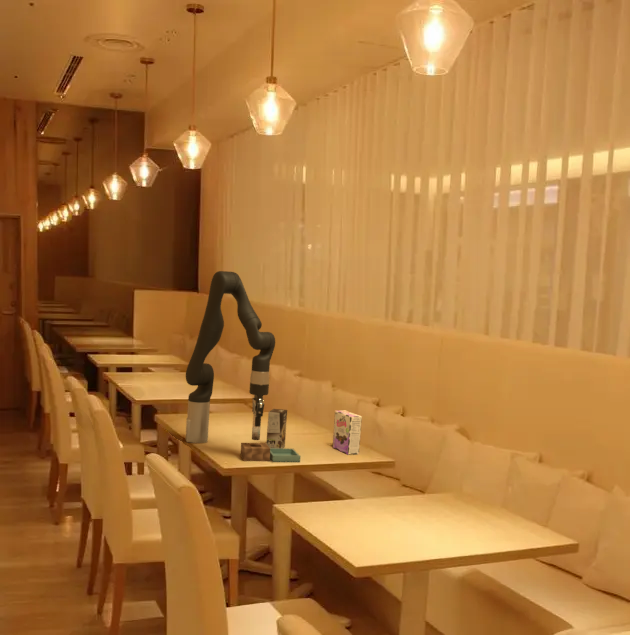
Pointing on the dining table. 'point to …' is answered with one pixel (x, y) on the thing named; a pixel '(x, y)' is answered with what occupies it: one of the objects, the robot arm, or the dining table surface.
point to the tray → (284, 455)
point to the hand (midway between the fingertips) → (256, 425)
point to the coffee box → (276, 428)
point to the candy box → (347, 432)
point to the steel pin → (255, 430)
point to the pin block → (255, 452)
